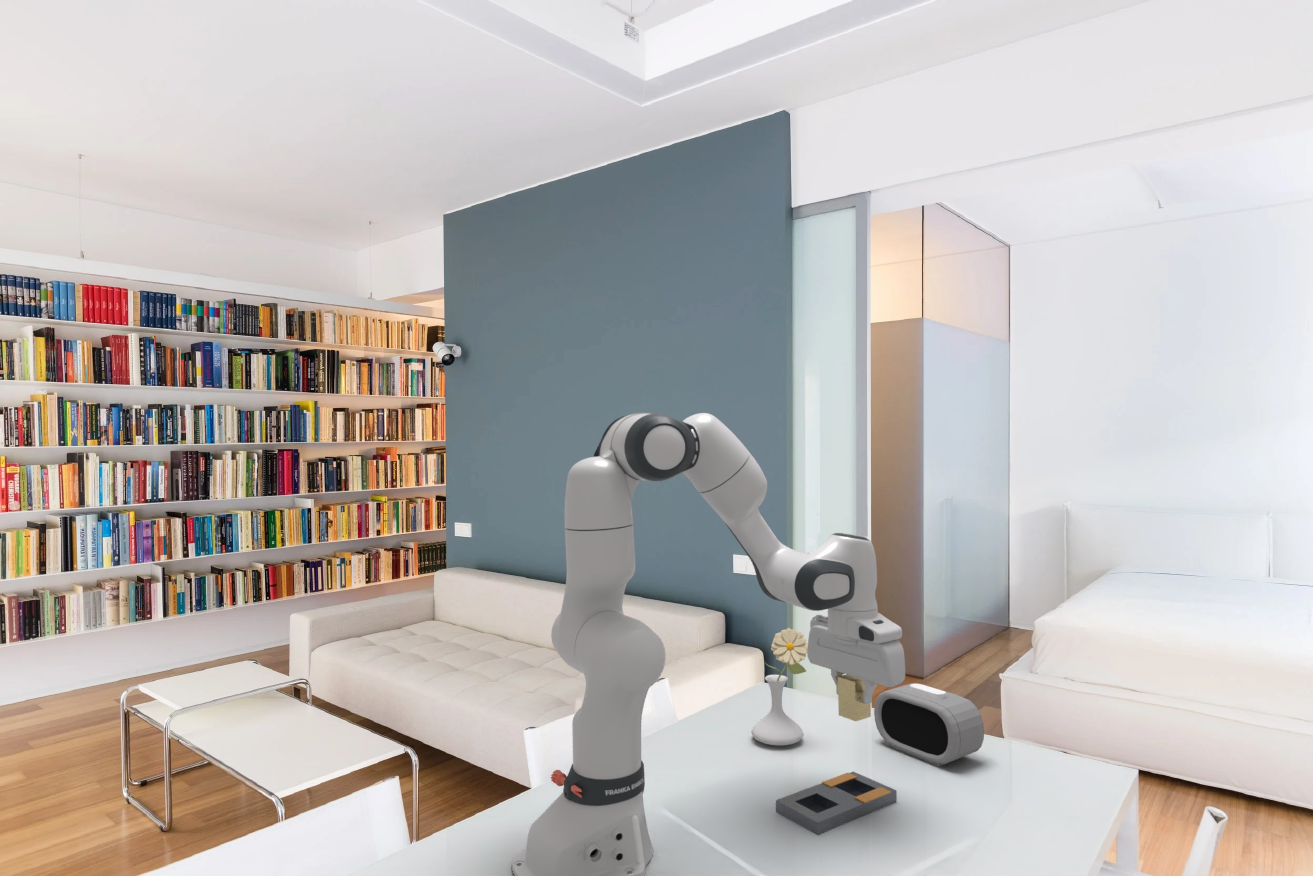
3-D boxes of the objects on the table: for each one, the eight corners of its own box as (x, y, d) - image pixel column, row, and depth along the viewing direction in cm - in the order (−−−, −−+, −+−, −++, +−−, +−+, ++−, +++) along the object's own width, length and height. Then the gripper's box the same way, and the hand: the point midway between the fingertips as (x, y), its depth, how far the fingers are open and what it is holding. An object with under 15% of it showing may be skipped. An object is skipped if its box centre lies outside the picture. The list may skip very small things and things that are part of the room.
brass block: (855, 721, 138) (854, 682, 138) (838, 715, 141) (837, 676, 141) (870, 716, 140) (870, 677, 140) (853, 710, 143) (852, 672, 143)
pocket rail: (818, 841, 128) (817, 821, 128) (776, 817, 136) (775, 799, 136) (896, 807, 139) (896, 789, 139) (853, 787, 147) (853, 770, 147)
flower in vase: (745, 746, 168) (743, 631, 168) (759, 728, 178) (757, 619, 179) (805, 755, 163) (803, 636, 163) (815, 735, 173) (813, 624, 173)
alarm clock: (873, 742, 169) (872, 681, 169) (902, 733, 174) (901, 673, 174) (955, 775, 152) (954, 707, 152) (984, 764, 157) (983, 697, 157)
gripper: (799, 615, 147) (800, 688, 147) (886, 636, 130) (887, 718, 130) (822, 610, 151) (823, 681, 151) (910, 630, 134) (911, 710, 134)
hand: (854, 699), depth 140 cm, fingers closed on brass block, 4 cm apart
